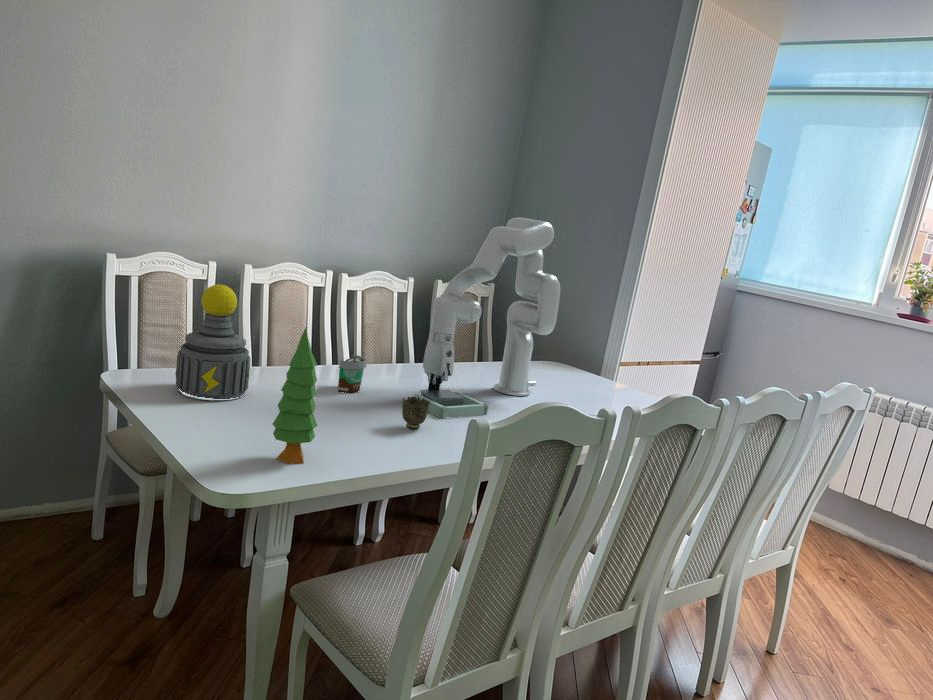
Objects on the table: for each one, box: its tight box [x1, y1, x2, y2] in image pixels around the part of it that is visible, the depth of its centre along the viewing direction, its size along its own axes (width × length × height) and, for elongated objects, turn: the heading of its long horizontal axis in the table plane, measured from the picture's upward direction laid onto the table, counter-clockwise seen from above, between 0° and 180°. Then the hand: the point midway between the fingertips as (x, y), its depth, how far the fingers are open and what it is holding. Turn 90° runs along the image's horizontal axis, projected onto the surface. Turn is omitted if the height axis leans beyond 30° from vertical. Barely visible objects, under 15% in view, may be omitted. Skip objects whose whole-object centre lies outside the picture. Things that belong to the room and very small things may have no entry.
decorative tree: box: [272, 327, 318, 465], centre depth 160 cm, size 10×9×30 cm
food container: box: [337, 354, 367, 394], centre depth 225 cm, size 12×6×10 cm, turn 168°
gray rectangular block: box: [420, 389, 464, 407], centre depth 222 cm, size 10×8×4 cm
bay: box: [413, 391, 489, 419], centre depth 221 cm, size 17×14×3 cm
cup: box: [401, 395, 430, 431], centre depth 196 cm, size 8×7×8 cm
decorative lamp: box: [175, 284, 251, 399], centre depth 199 cm, size 19×19×30 cm
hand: (432, 395), depth 228 cm, fingers closed
